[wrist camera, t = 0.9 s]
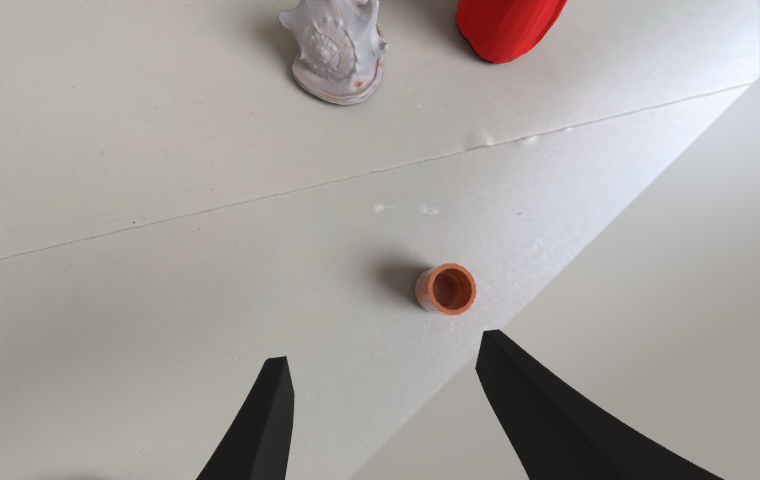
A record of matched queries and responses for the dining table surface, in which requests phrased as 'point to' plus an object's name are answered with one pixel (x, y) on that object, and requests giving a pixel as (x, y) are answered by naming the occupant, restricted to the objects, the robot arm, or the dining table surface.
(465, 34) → the water bottle
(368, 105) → the dining table surface
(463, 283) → the cup
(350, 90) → the seashell
